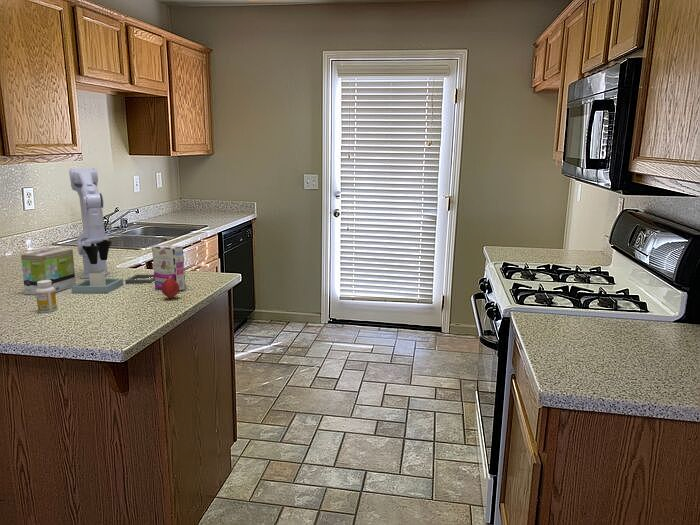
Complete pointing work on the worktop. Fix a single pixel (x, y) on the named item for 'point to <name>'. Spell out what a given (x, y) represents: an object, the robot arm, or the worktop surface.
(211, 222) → the worktop surface
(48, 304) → the supplement bottle
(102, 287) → the parts tray
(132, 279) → the socket collar
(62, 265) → the tea box
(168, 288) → the onion
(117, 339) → the worktop surface
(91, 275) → the tan rectangular block
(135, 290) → the worktop surface
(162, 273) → the candy bar box
